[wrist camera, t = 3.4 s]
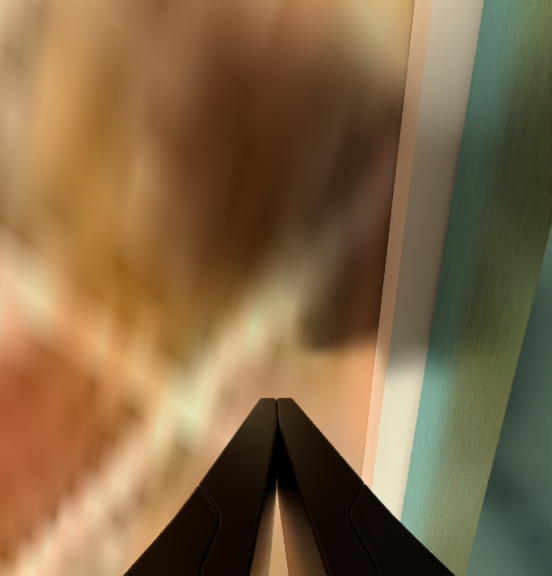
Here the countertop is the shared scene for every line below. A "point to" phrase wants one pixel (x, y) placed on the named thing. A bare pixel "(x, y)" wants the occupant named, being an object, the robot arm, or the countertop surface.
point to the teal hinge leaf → (493, 320)
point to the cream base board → (418, 232)
